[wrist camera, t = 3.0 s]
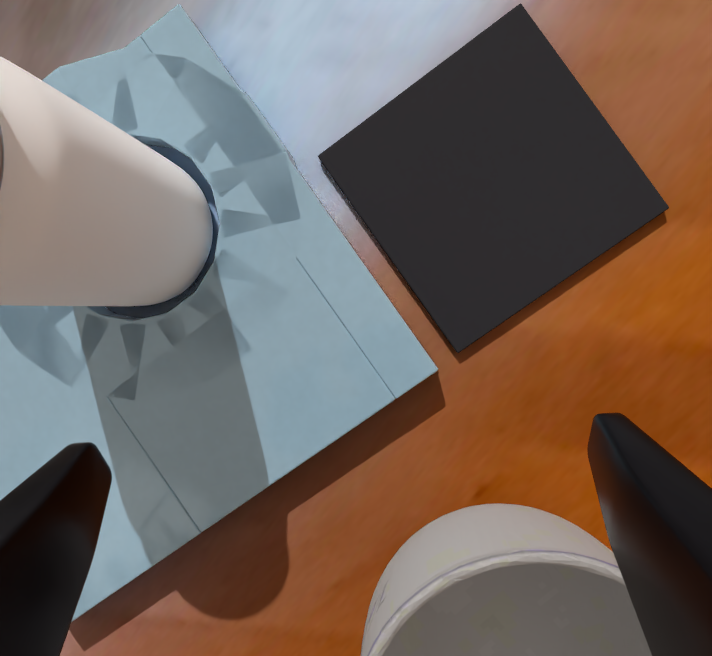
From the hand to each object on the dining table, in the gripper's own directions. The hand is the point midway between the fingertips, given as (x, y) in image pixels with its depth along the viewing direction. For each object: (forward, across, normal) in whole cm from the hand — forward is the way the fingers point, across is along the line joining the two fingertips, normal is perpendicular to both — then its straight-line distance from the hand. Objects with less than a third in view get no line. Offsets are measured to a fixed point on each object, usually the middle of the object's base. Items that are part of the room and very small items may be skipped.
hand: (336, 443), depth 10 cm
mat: (+15, -5, +2) cm, 16 cm away
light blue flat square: (+12, +11, +6) cm, 17 cm away
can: (+15, +10, +2) cm, 18 cm away
